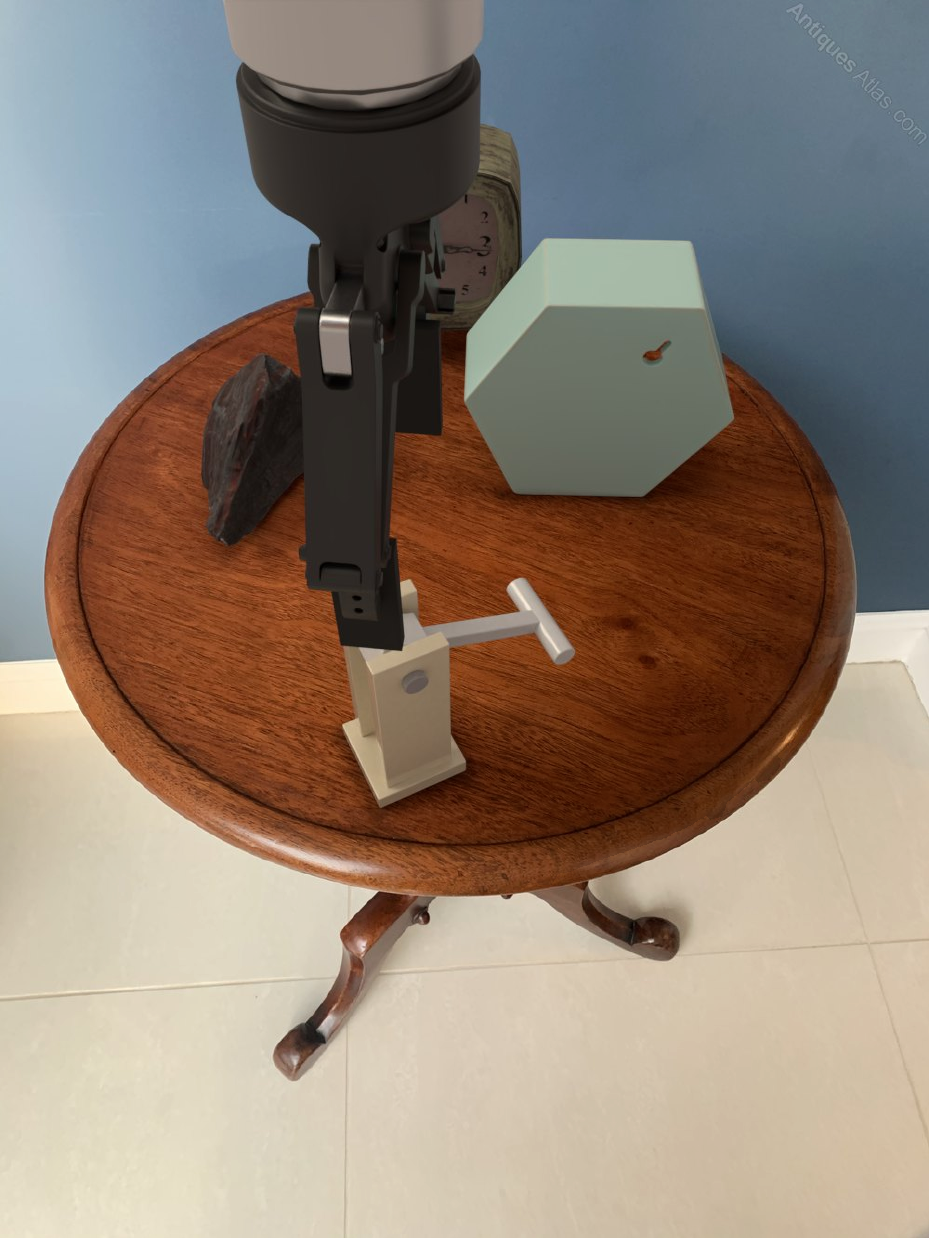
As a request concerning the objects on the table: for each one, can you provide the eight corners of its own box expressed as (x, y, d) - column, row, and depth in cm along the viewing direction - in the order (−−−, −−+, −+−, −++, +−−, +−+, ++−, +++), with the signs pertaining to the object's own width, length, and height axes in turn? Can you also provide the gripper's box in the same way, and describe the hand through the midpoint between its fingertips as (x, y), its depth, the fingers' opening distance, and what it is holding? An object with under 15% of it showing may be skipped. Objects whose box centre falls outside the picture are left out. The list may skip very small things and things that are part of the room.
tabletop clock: (352, 362, 86) (319, 64, 66) (361, 300, 92) (333, 7, 72) (515, 365, 86) (533, 67, 66) (515, 303, 92) (530, 10, 71)
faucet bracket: (426, 698, 65) (419, 566, 54) (466, 770, 62) (467, 645, 51) (343, 733, 64) (318, 604, 53) (380, 808, 61) (362, 688, 49)
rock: (359, 423, 81) (349, 332, 74) (232, 568, 72) (206, 480, 65) (286, 395, 84) (269, 304, 76) (154, 533, 74) (120, 444, 67)
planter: (593, 469, 85) (776, 300, 71) (598, 536, 80) (795, 369, 66) (428, 381, 78) (595, 173, 64) (423, 448, 73) (602, 240, 59)
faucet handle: (519, 597, 61) (532, 570, 60) (567, 668, 58) (582, 641, 57) (344, 623, 55) (354, 593, 53) (388, 704, 52) (399, 675, 50)
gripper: (317, -100, 37) (363, 354, 54) (100, 289, 22) (257, 747, 39) (513, -92, 37) (498, 364, 54) (425, 311, 22) (442, 765, 39)
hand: (396, 526), depth 47 cm, fingers open, 13 cm apart
